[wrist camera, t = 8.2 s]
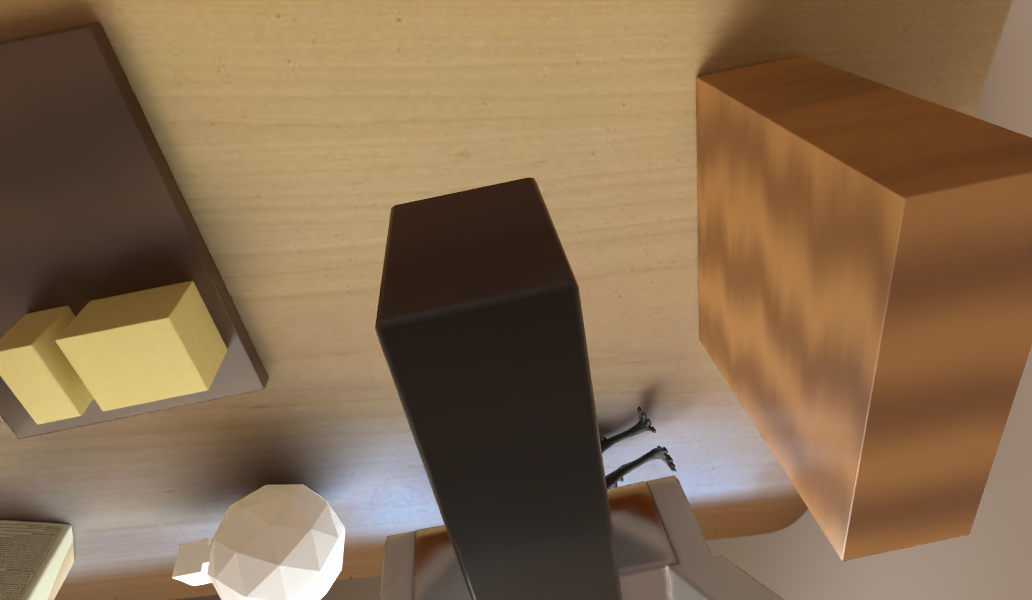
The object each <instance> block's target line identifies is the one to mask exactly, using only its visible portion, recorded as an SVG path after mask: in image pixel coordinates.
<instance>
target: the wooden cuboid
mask: <svg viewBox="0 0 1032 600" xmlns="http://www.w3.org/2000/svg"><path fill="white" fill-rule="evenodd" d="M696 116H697V191H698V266H699V340H700V341H701V343H702V344H703V346H704V347H705V349H706V350H707V352H708V354H709V355H710V357H711V358H712V360H713V361H714V363H715V364H716V366H717V367H718V369H719V371H720V372H721V374H722V375H723V377H724V378H725V380H726V381H727V383H728V385H729V386H730V388H731V389H732V391H733V392H734V394H735V395H736V397H737V399H738V400H739V402H740V403H741V405H742V406H743V408H744V409H745V411H746V412H747V414H748V416H749V417H750V419H751V420H752V422H753V423H754V425H755V426H756V428H757V430H758V431H759V433H760V434H761V436H762V437H763V439H764V440H765V442H766V443H767V445H768V447H769V448H770V450H771V451H772V453H773V454H774V456H775V457H776V459H777V461H778V462H779V464H780V465H781V467H782V468H783V470H784V471H785V473H786V475H787V476H788V478H789V479H790V481H791V482H792V484H793V485H794V487H795V488H796V490H797V492H798V493H799V495H800V496H801V498H802V499H803V501H804V502H805V504H806V506H807V507H808V509H809V510H810V511H811V513H812V515H813V516H814V518H815V519H816V521H817V523H818V524H819V526H820V527H821V529H822V530H823V532H824V533H825V535H826V537H827V538H828V540H829V541H830V543H831V544H832V546H833V547H834V549H835V550H836V552H837V554H838V555H839V556H840V558H841V560H842V561H846V560H850V559H855V558H860V557H865V556H869V555H874V554H879V553H884V552H888V551H893V550H898V549H903V548H908V547H912V546H917V545H922V544H927V543H931V542H936V541H941V540H946V539H951V538H955V537H960V536H965V535H969V534H970V531H971V528H972V525H973V522H974V519H975V516H976V513H977V510H978V507H979V504H980V500H981V498H982V494H983V491H984V488H985V485H986V482H987V479H988V476H989V473H990V470H991V467H992V464H993V461H994V458H995V455H996V452H997V449H998V446H999V443H1000V440H1001V437H1002V434H1003V431H1004V428H1005V425H1006V421H1007V418H1008V415H1009V412H1010V409H1011V406H1012V403H1013V400H1014V397H1015V394H1016V391H1017V388H1018V385H1019V382H1020V379H1021V376H1022V373H1023V370H1024V367H1025V364H1026V361H1027V358H1028V354H1029V352H1030V349H1031V345H1032V138H1030V137H1028V136H1025V135H1022V134H1019V133H1016V132H1013V131H1011V130H1008V129H1005V128H1002V127H1000V126H997V125H994V124H991V123H988V122H985V121H983V120H980V119H977V118H974V117H972V116H969V115H966V114H963V113H960V112H958V111H955V110H952V109H949V108H946V107H944V106H941V105H938V104H935V103H932V102H930V101H927V100H924V99H921V98H918V97H916V96H913V95H910V94H907V93H904V92H902V91H899V90H896V89H893V88H890V87H888V86H885V85H882V84H879V83H876V82H874V81H871V80H868V79H865V78H862V77H860V76H857V75H854V74H851V73H848V72H846V71H843V70H840V69H837V68H834V67H832V66H829V65H826V64H823V63H820V62H818V61H815V60H812V59H809V58H806V57H804V56H797V57H792V58H787V59H782V60H777V61H772V62H767V63H762V64H757V65H752V66H747V67H742V68H737V69H732V70H727V71H722V72H717V73H711V74H706V75H701V76H697V77H696Z"/></svg>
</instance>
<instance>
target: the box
mask: <svg viewBox="0 0 1032 600" xmlns="http://www.w3.org/2000/svg"><path fill="white" fill-rule="evenodd" d="M73 563H74V543H73V533H72V526H71V525H69V524H58V523H46V522H26V521H4V520H0V600H54V599H55V597H56V595H57V593H58V591H59V589H60V588H61V586H62V584H63V582H64V580H65V578H66V576H67V574H68V572H69V571H70V569H71V567H72V565H73Z"/></svg>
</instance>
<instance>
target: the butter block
mask: <svg viewBox="0 0 1032 600" xmlns="http://www.w3.org/2000/svg"><path fill="white" fill-rule="evenodd" d="M55 341H56V343H57V344H58V346H59V347H60V349H61V350H62V352H63V353H64V355H65V356H66V358H67V359H68V361H69V362H70V363H71V365H72V366H73V368H74V369H75V371H76V372H77V374H78V375H79V377H80V378H81V380H82V381H83V383H84V384H85V386H86V387H87V389H88V390H89V392H90V393H91V395H92V396H93V398H94V399H95V401H96V402H97V404H98V405H99V407H100V408H101V409H102V411H108V410H113V409H118V408H123V407H128V406H132V405H137V404H142V403H147V402H152V401H157V400H162V399H167V398H172V397H177V396H182V395H187V394H192V393H197V392H202V391H207V390H208V389H209V387H210V385H211V383H212V381H213V379H214V377H215V375H216V373H217V371H218V368H219V366H220V364H221V362H222V360H223V358H224V356H225V354H226V352H227V347H226V345H225V343H224V341H223V339H222V337H221V335H220V333H219V331H218V329H217V327H216V325H215V323H214V321H213V319H212V317H211V315H210V313H209V311H208V309H207V307H206V305H205V303H204V301H203V299H202V297H201V295H200V294H199V292H198V290H197V288H196V286H195V284H194V282H193V281H188V282H183V283H178V284H173V285H168V286H163V287H158V288H153V289H148V290H143V291H138V292H133V293H128V294H123V295H118V296H113V297H108V298H103V299H98V300H93V301H90V302H89V303H88V304H87V305H86V306H85V307H84V308H83V309H82V310H81V311H80V313H79V314H78V315H77V316H76V317H75V318H74V319H73V320H72V321H71V323H70V324H69V325H68V326H67V327H66V328H65V329H64V330H63V331H62V332H61V334H60V335H59V336H58V337H57V338H56V339H55Z"/></svg>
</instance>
